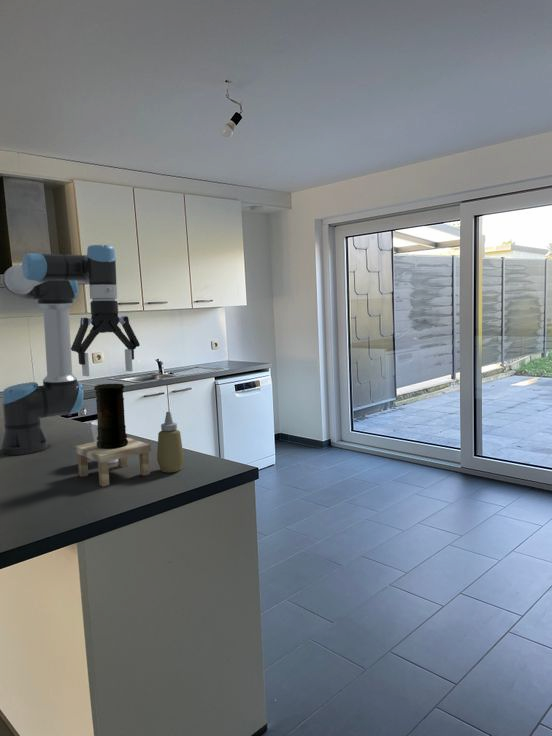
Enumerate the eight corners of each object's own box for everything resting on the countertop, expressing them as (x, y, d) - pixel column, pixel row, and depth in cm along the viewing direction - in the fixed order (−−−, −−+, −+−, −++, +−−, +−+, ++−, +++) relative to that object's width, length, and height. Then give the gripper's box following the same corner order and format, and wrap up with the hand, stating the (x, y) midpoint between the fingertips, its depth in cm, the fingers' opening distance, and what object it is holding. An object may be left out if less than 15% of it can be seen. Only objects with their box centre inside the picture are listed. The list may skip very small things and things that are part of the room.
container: (100, 442, 167) (96, 383, 165) (130, 441, 168) (127, 382, 166) (93, 449, 158) (89, 388, 156) (125, 448, 159) (121, 386, 157)
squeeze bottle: (189, 467, 170) (186, 410, 168) (176, 475, 162) (173, 415, 160) (166, 465, 173) (163, 409, 170) (152, 473, 165) (149, 414, 163)
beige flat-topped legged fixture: (76, 475, 164) (74, 446, 163) (124, 463, 175) (123, 436, 174) (101, 487, 153) (100, 455, 152) (152, 474, 164) (150, 444, 163)
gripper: (67, 300, 147) (72, 379, 149) (148, 299, 164) (152, 370, 167) (55, 300, 152) (60, 377, 155) (135, 299, 170) (139, 368, 172)
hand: (108, 373), depth 161 cm, fingers open, 13 cm apart
